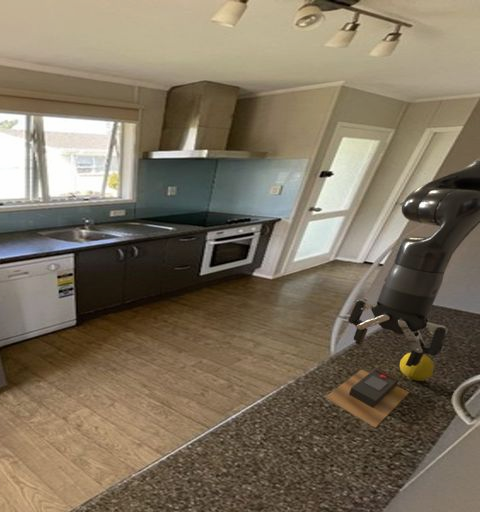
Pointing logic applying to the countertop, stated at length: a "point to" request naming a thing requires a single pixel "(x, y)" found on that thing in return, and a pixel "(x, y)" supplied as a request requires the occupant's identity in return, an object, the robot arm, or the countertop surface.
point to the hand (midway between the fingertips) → (382, 353)
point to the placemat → (361, 409)
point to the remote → (373, 387)
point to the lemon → (417, 368)
